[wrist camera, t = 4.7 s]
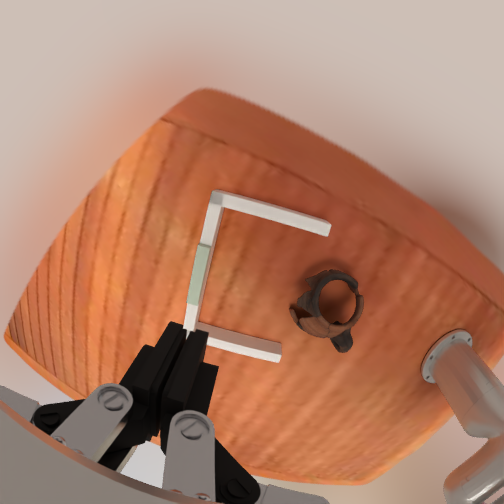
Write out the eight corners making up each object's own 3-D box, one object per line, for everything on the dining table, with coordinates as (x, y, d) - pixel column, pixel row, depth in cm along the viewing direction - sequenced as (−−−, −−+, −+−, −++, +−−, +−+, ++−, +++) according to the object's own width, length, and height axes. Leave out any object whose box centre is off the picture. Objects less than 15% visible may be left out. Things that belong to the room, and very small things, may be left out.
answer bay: (326, 220, 34) (333, 226, 30) (278, 350, 40) (278, 367, 36) (216, 189, 34) (210, 191, 30) (187, 326, 40) (179, 340, 36)
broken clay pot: (271, 295, 38) (291, 294, 30) (321, 260, 40) (349, 251, 32) (314, 361, 37) (340, 373, 29) (358, 323, 40) (391, 326, 32)
